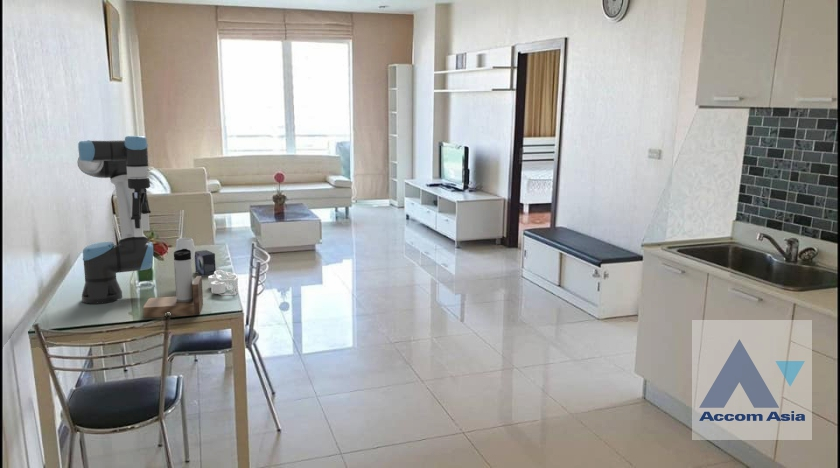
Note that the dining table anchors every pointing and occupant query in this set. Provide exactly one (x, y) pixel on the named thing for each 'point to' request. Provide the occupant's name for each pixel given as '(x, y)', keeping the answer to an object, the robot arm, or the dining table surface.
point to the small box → (205, 262)
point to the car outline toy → (223, 282)
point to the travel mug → (183, 276)
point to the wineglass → (186, 245)
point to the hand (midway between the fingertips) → (142, 233)
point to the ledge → (175, 304)
